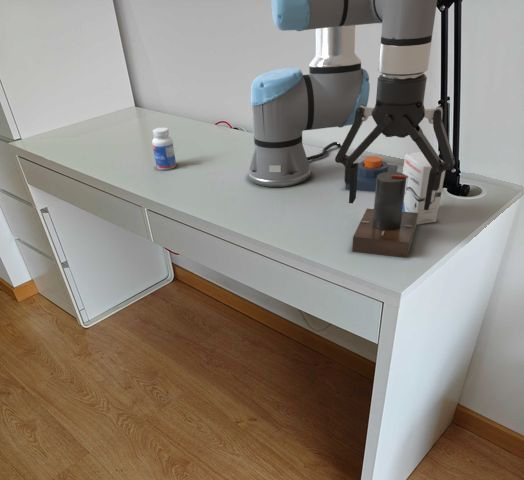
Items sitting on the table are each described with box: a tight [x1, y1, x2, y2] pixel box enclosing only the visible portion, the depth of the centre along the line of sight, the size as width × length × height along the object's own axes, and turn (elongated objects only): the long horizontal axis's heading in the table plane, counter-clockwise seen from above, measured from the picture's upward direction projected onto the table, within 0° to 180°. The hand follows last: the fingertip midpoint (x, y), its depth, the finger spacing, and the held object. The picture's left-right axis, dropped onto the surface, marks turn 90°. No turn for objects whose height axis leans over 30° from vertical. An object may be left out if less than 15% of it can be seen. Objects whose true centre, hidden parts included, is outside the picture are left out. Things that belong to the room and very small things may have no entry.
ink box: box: [402, 151, 447, 226], centre depth 99 cm, size 9×5×12 cm, turn 13°
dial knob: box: [373, 171, 407, 230], centre depth 91 cm, size 5×5×9 cm
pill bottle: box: [151, 127, 177, 171], centre depth 133 cm, size 6×5×10 cm
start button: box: [364, 155, 383, 168], centre depth 116 cm, size 4×4×2 cm
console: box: [351, 208, 418, 259], centre depth 95 cm, size 13×10×3 cm
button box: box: [345, 160, 399, 193], centre depth 118 cm, size 12×10×4 cm
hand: (388, 203), depth 91 cm, fingers open, 13 cm apart
